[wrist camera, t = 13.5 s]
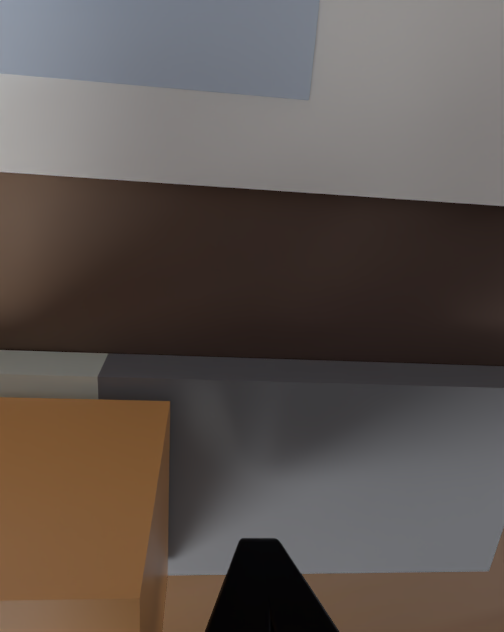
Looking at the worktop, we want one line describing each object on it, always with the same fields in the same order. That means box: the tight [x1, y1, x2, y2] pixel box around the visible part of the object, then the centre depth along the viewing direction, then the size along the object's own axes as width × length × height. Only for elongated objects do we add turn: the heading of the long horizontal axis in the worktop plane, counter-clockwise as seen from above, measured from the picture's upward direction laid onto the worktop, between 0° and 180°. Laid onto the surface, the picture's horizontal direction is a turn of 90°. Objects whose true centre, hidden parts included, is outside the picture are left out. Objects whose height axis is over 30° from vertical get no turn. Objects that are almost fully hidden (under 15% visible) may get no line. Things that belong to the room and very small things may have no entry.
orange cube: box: [0, 397, 170, 632], centre depth 8 cm, size 4×4×4 cm
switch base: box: [0, 350, 504, 575], centre depth 9 cm, size 14×5×3 cm, turn 86°
